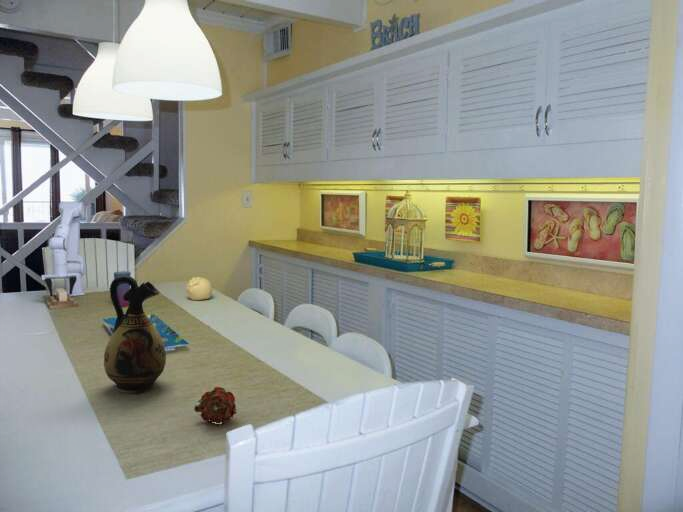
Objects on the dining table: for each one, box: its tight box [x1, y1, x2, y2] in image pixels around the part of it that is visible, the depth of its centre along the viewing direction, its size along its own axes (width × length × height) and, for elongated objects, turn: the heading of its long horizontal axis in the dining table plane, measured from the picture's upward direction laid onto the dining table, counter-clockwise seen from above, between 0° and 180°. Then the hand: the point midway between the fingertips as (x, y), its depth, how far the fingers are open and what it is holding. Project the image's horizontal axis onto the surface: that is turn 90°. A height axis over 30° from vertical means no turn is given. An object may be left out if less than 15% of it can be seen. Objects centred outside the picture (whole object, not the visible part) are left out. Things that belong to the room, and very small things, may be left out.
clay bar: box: [54, 287, 67, 302], centre depth 241 cm, size 12×3×5 cm, turn 34°
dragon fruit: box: [193, 386, 237, 424], centre depth 126 cm, size 8×8×12 cm
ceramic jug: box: [103, 275, 167, 395], centre depth 143 cm, size 17×15×30 cm
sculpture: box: [185, 276, 213, 301], centre depth 257 cm, size 11×12×11 cm
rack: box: [44, 294, 79, 310], centre depth 241 cm, size 18×11×2 cm, turn 34°
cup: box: [113, 270, 131, 308], centre depth 238 cm, size 7×7×15 cm
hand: (61, 294), depth 241 cm, fingers open, 7 cm apart
